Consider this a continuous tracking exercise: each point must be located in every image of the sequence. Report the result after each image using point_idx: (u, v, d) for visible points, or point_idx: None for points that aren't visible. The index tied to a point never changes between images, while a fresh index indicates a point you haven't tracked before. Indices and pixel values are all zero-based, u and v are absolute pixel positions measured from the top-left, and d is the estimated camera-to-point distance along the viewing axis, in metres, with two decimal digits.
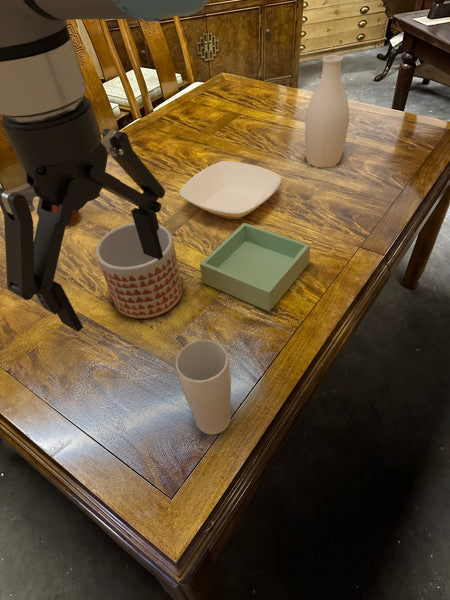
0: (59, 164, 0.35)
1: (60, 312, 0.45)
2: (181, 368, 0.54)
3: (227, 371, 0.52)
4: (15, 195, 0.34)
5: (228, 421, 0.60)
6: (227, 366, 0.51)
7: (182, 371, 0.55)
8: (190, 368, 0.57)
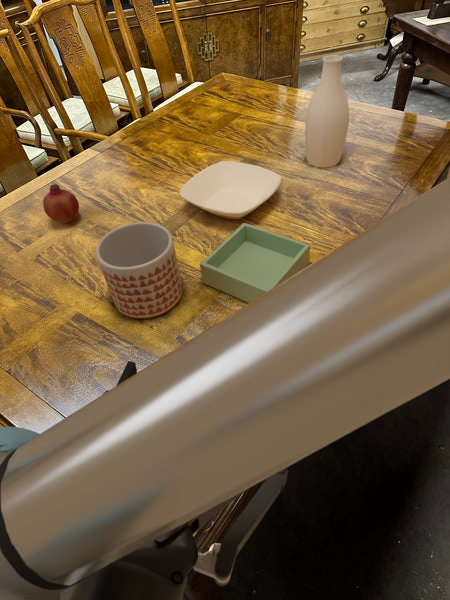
0: (161, 576, 0.28)
1: None
2: None
3: None
4: (221, 577, 0.30)
5: None
6: None
7: None
8: None
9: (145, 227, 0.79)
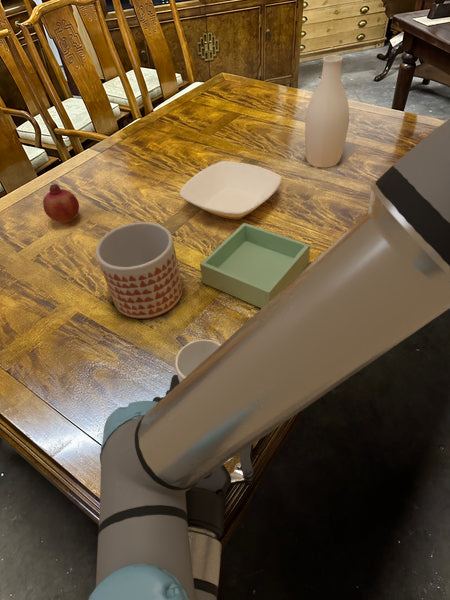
0: (210, 491, 0.44)
1: None
2: (181, 368, 0.54)
3: None
4: (249, 477, 0.47)
5: None
6: None
7: (182, 371, 0.55)
8: (190, 368, 0.57)
9: (145, 227, 0.79)
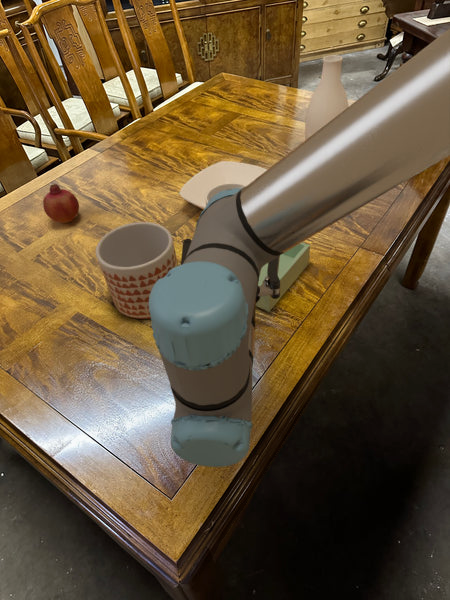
0: None
1: None
2: None
3: None
4: (277, 285, 0.52)
5: None
6: None
7: None
8: None
9: (145, 227, 0.79)
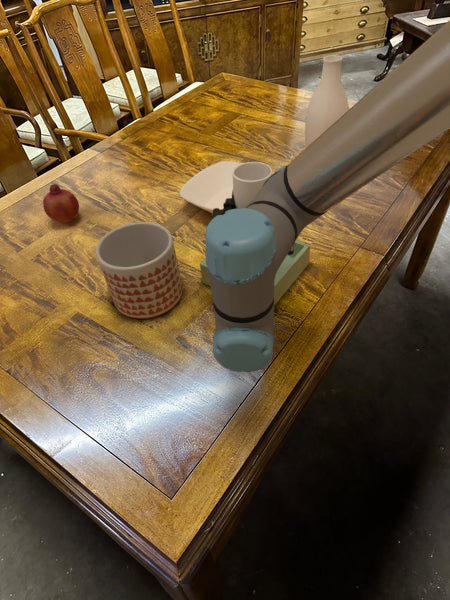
0: None
1: None
2: None
3: None
4: None
5: None
6: None
7: None
8: None
9: (145, 227, 0.79)
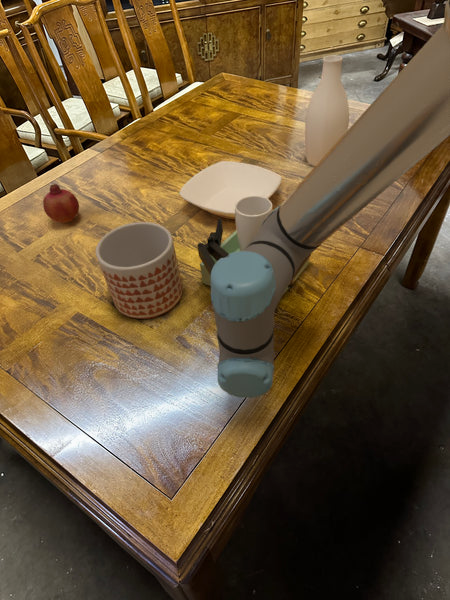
0: None
1: None
2: None
3: None
4: None
5: None
6: (271, 209, 0.73)
7: None
8: None
9: (145, 227, 0.79)
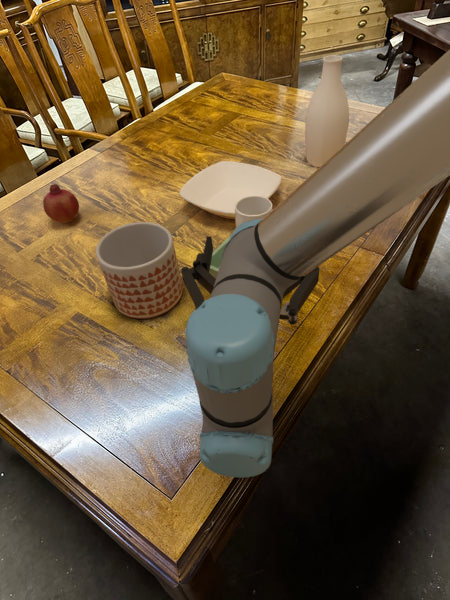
0: None
1: None
2: None
3: None
4: (293, 312, 0.54)
5: None
6: (271, 209, 0.73)
7: None
8: None
9: (145, 227, 0.79)
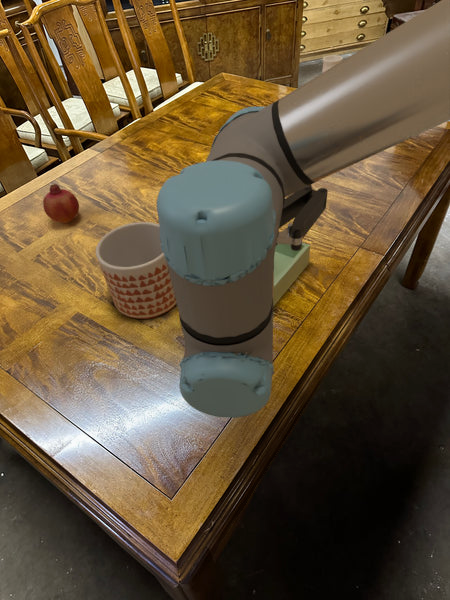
0: None
1: None
2: None
3: None
4: (297, 233, 0.45)
5: None
6: None
7: None
8: None
9: (145, 227, 0.79)
